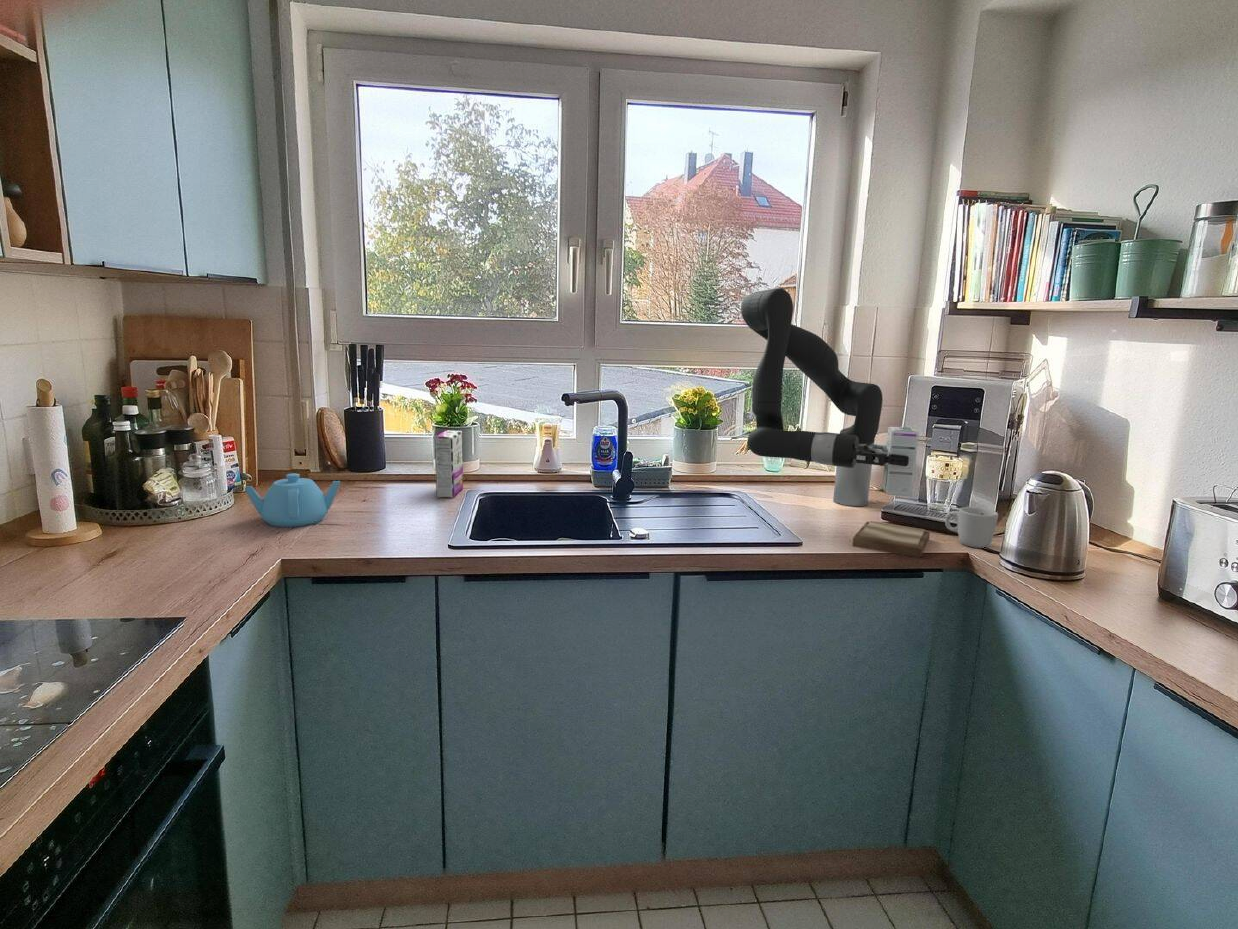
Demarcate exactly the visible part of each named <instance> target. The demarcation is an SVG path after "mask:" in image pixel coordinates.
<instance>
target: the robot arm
mask: <svg viewBox="0 0 1238 929" xmlns="http://www.w3.org/2000/svg"><path fill="white" fill-rule="evenodd" d="M793 311H794V304H793V299H792V297H791V295H790V293H789V292H788V291H787V290H785V289H784V288H781V287H777V288H776V287H775V288H769V289H765V290H757V291H754V292H751V293H749V294H747V295H746V296H744V298H743V299H742V301H741V304H740V313H741V317H742V319H743V321H744V323H745V324H746V325H747V327H748V328H749V329H751V330H752V331H753V332H755V334H758V335H759V336H760V337H762V338H763V339H764V340H765V341H767V343H766V346H765V349H764V352H763V356H762V357H761V360H760V362H759V364H758V366H757V368H756V371H755V373H754V376H753V380H752V385H751V386H752V390H751V410H752V414H753V415H754V416H755V421H756V422H755V424H756V427H755V428H754V429H753V430H752V431H751V432H749V434H748V436H747V443H746V444H747V446H748V449H749V450H750V452H752V453H753V454H755V455H756V456H759V457H763V458H764V457H765V458H778V459H779V458H780V459H784V458H785V459H792V460H796V461H804V462H812V463H817V464H818V465H819V464H820V465H825V466H833V467H836V469H835V477H834V488H833V500H832V501H833V503H837V504H839V503H840V505H844V506H850V507H851V506H852V507H864V506H867V505H868V504H869V496H870V495H869V494H870V487H871V479H872V478H871V477H872V468H873V465H874V466H880V467H884V465H889V463H890V464H891V465H899V466H907V465H908V463H909V457H908V456H904V455H896V454H891V456H890V453H886V445H881V444H875V440H876V436H877V434H878V431H879V428H880V426H879V425H880V420H881V413H882V407H883V393H882V389H881V388H880V386H878V385H877V384H874V383H868V382H862V381H861V382H860V381H853V380H852V379H850V378H848V377H847V376H845V374H844V373H842V372H841V371H840V369H839V358H838V356H837V354H836V352H835V350H834V349H833V348H832V347H831V346H830V345H829V344H828V343H827V342H826V341H825V340H824V339H823V338H822V337H820V336H819V335H817V334H816V333H814V332H811V331H810V330H807V329H804V328H802V327H799V326H797V325H795V324H793V323H792V322H793V317H794V316H793V315H794V312H793ZM786 358H787V359H788V360H789V361H790V362H791V363H792V364H794V365H795V367H796V368H798V369H799V371H801V372H802V374H804V375H805V376H806V377H808V378H809V379H810V380H811V381H812V382H813V383H814V384H815V385H816V386H817V387H818V388H819V389H821V391H823V393H824V394H825V395H826V396H827V397H828V399H829V400H830V401H831V402H832V403H833V404H834V406H835V407H836V408H837V409H838V410H839V412H841V413H842V414H845V415H847V416H852V417H855V418H854V422H853V424H852V425H851V426H850V427H846V428H843V429H840V431H839V433H837V432H827V431H826V432H825V431H824V432H823V431H822V432H817V431H816V432H815V431H808V430H788V429H787V430H786V429H784V421H783V415H782V406H783V405H782V403H783V402H782V400H783V398H782V397H783V376H784V368H785V362H786V361H785V360H786Z"/></svg>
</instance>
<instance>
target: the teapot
mask: <svg viewBox="0 0 1238 929" xmlns="http://www.w3.org/2000/svg"><path fill="white" fill-rule="evenodd" d="M285 476H286V478H281V479H278V480H275V481H274V482H273V483H272V484H271V485H270V487H269V489H268V490H267V492H266V494H265V496H264V497H263V498H261V496H260V495H259V494H258V492H257V491H256V490H255V488H254V487H253V485H248V486H247V485H246V486H243V487H244V490H245V492H246V494H247V496H248V497H249V499H250V501H251V503H252V505H253V506H254V508H255V510H256V511H257V513H258V515H260V516H261V518H262V519H263V520H264V521H265V522H266V523H267V524H268V525H270V526H273V527H279V528H280V527H281V528H293V527H294V528H295V527H296V528H297V527H303V526H309V525H314V524H316V523H319V522H321V521H322V520H323V519H324V518H325V517H326V515H327V514H328V511H329V510H330V509H331V506H332V504H333V501H334V499H335V497H336V494H337V492H338V489H339V487H340V484H341V481H340V480H337V481H336V480H333V481H332V483H331V485H330V487H329V489H328V490H327V491H326V494H325V495H324V493H323V492H322V490H321V489H320V487H319V486H318V485H317V483H315V481H314V480H312V479H311V478H304V477H300V476H301V475H300V474H299V473H295V472H294V473H287V474H286V475H285Z"/></svg>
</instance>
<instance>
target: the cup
mask: <svg viewBox="0 0 1238 929" xmlns="http://www.w3.org/2000/svg"><path fill="white" fill-rule="evenodd" d="M952 516H954V517H956V520H957V524H956V526H952V525H951V522H950V520H951V519H950V518H951V517H952ZM998 519H999V513H998V512H997V511H995V510H991V509H989V508H984V507H977V506H963V507H960V508H959V510H952V511H950V512H947V513H946V516H945V518H944V521H945V522H944V523H945V527H946V528H947V529H948V530H949V531H951V532H952V533H953V532H954V533H957V534H958V540H959V542H960V543H961V544H962V545H964V546H966V547H970V548H978V549H985V548H984V547H986V548H988V547H989V546H991V545H992V542H993V539H994V533H995V531H996V526H997V523H998Z"/></svg>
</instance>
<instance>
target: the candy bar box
mask: <svg viewBox="0 0 1238 929" xmlns="http://www.w3.org/2000/svg"><path fill="white" fill-rule="evenodd" d="M434 458H435V459H434V460H435V461H434V462H435V488H436V489H435V490H436V491H435V492H436V494H435V495H436V498H438V499H439V498H440V499H441V498H443V499H449V498H450V499H451V498H452V499H453V498H454V499H455V497H456V496H457V495H458V494H459V493H460V492H461V491H462V490H463V489H464V475H463V474H464V472H463V471H464V470H463V468H464V467H463V465H464V464H463V462H464V461H463V431H462V430H448V429H447V430H444V431H442V432H441V433H439V434H438V435H436V436H434Z"/></svg>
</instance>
